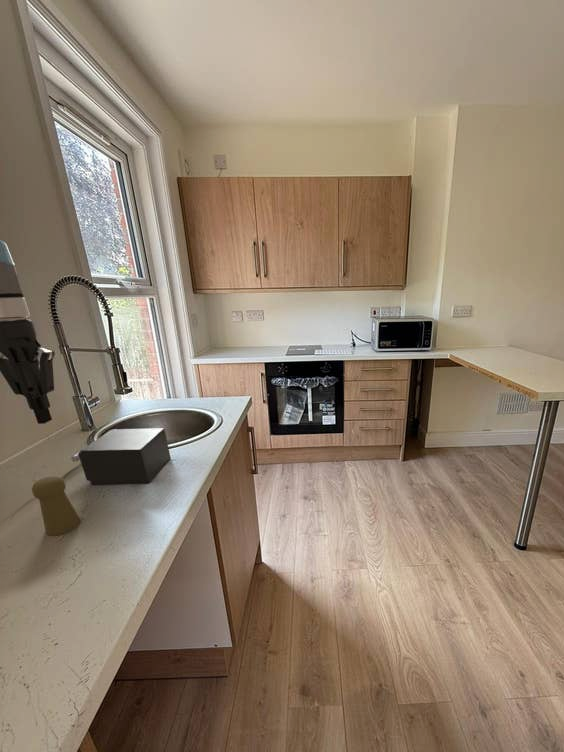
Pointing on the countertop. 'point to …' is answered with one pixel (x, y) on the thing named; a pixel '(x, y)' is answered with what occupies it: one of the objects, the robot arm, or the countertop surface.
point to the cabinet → (126, 456)
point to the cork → (55, 506)
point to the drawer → (79, 457)
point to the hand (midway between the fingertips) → (45, 421)
